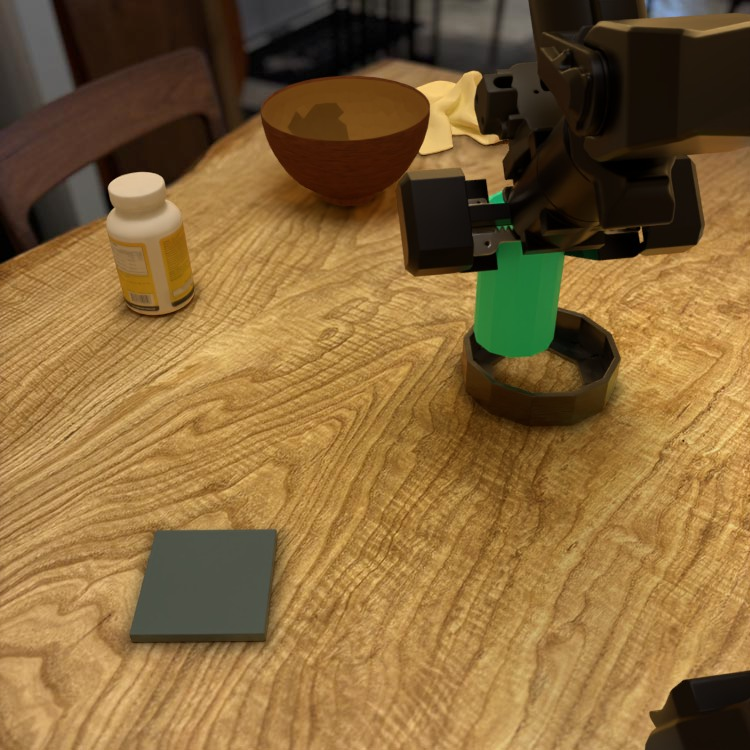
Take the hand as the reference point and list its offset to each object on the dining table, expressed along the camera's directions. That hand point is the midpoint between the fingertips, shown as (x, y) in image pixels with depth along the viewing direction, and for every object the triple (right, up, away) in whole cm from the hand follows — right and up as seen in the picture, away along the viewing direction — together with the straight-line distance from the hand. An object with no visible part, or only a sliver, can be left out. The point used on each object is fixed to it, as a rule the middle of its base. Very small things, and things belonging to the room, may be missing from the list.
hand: (515, 248), depth 61 cm
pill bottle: (-30, -2, +18) cm, 35 cm away
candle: (0, -6, +3) cm, 7 cm away
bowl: (-13, +11, +34) cm, 38 cm away
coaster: (-21, -22, -8) cm, 31 cm away
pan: (+3, -4, +14) cm, 15 cm away
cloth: (+1, +24, +49) cm, 54 cm away
